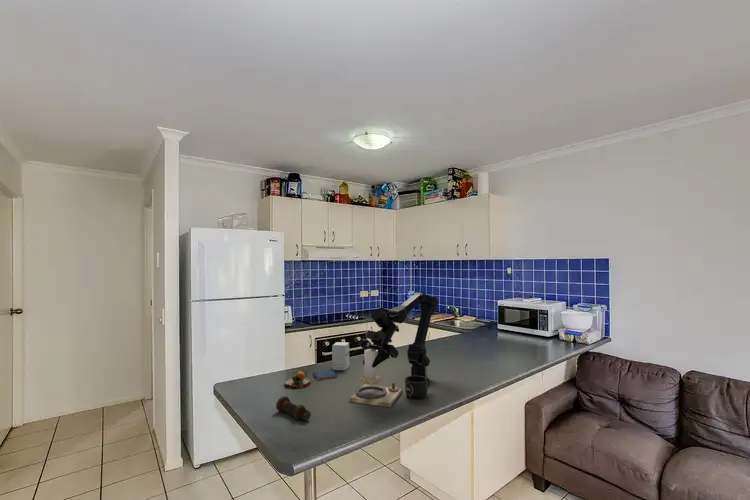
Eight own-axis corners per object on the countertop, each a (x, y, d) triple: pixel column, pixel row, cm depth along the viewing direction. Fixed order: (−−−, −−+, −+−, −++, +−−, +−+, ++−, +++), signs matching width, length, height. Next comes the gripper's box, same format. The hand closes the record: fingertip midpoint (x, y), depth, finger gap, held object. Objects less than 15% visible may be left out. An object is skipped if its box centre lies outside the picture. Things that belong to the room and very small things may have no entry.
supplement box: (345, 370, 183) (345, 345, 183) (331, 369, 184) (331, 345, 185) (349, 366, 190) (349, 342, 190) (336, 365, 192) (336, 341, 192)
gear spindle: (379, 377, 152) (378, 347, 152) (381, 384, 144) (380, 352, 144) (360, 378, 151) (360, 348, 151) (361, 385, 143) (361, 353, 144)
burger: (297, 378, 172) (297, 363, 172) (316, 382, 166) (316, 366, 166) (279, 386, 162) (279, 369, 162) (298, 391, 156) (298, 373, 156)
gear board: (402, 392, 152) (401, 382, 152) (390, 407, 137) (390, 395, 137) (364, 387, 158) (364, 377, 158) (349, 401, 143) (349, 390, 143)
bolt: (305, 427, 125) (280, 414, 135) (315, 416, 129) (290, 404, 138) (299, 416, 123) (273, 403, 133) (309, 404, 126) (283, 393, 136)
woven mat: (311, 375, 178) (311, 371, 178) (332, 372, 182) (332, 368, 182) (315, 381, 168) (315, 377, 168) (338, 378, 172) (338, 374, 172)
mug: (415, 402, 141) (415, 384, 141) (400, 395, 149) (400, 378, 149) (437, 395, 148) (437, 377, 148) (422, 389, 156) (421, 372, 156)
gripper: (360, 320, 157) (342, 350, 149) (393, 325, 144) (374, 358, 136) (373, 335, 163) (356, 365, 155) (406, 341, 150) (389, 374, 142)
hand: (368, 365), depth 147 cm, fingers closed on gear spindle, 5 cm apart
